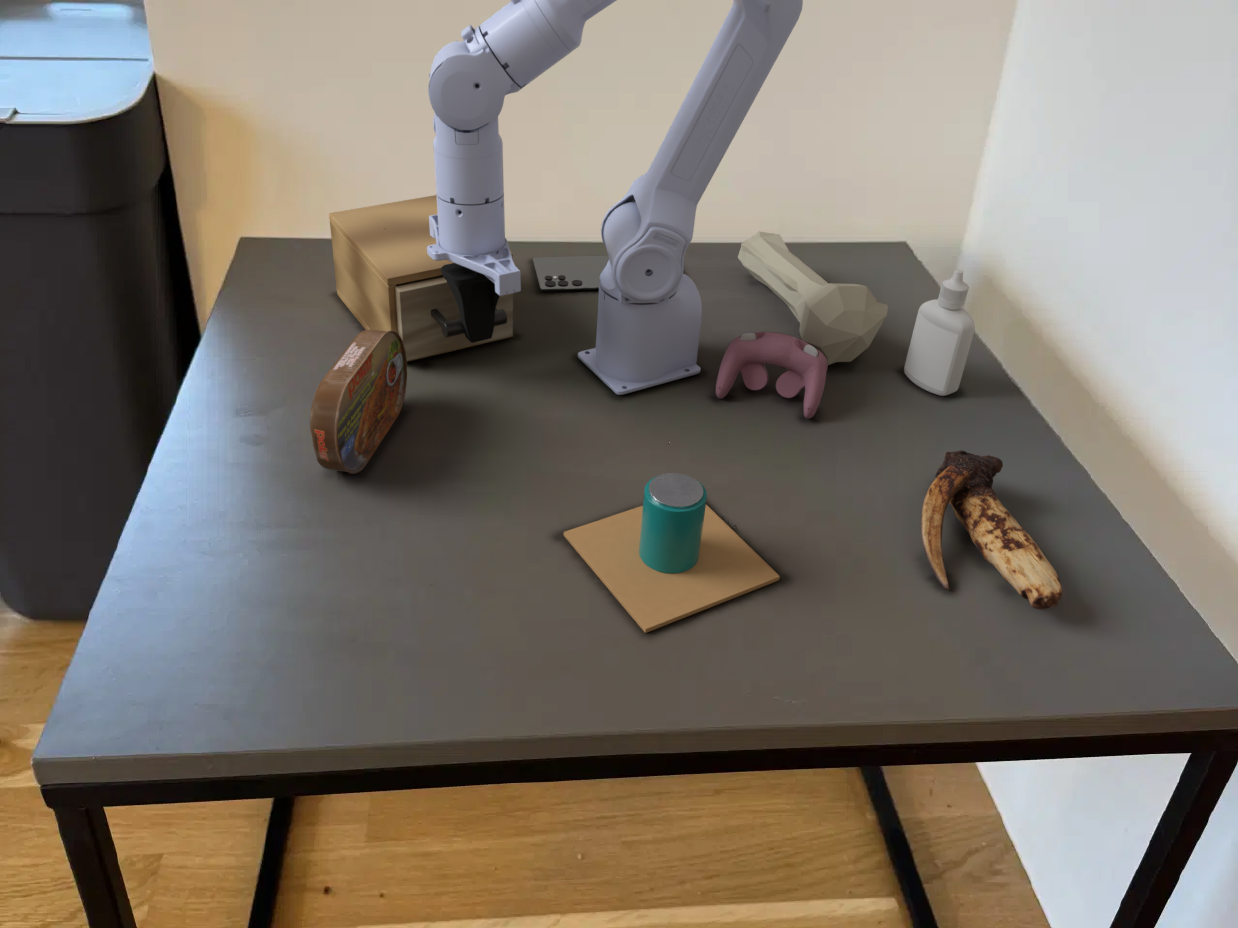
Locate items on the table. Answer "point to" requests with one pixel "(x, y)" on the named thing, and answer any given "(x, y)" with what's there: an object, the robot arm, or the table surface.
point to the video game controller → (778, 350)
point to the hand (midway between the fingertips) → (476, 335)
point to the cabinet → (383, 257)
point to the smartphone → (569, 272)
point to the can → (672, 522)
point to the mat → (665, 595)
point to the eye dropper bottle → (941, 339)
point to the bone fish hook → (985, 528)
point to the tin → (359, 400)
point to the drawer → (440, 318)
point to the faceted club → (815, 299)
